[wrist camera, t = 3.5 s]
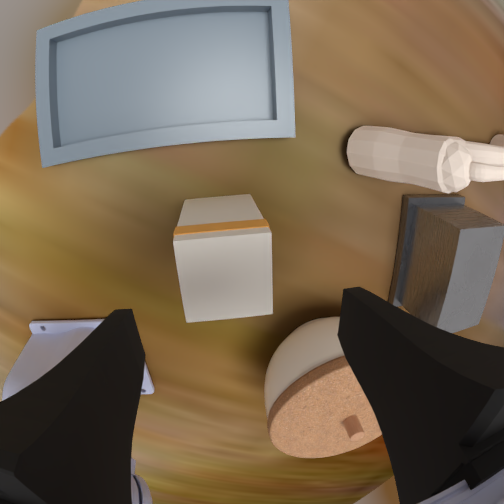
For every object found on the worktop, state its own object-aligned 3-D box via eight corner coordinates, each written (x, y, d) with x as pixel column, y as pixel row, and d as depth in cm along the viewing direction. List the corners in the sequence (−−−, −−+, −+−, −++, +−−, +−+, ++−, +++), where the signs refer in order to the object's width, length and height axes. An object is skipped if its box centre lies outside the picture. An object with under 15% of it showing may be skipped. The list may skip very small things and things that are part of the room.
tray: (52, 164, 17) (42, 167, 15) (47, 34, 13) (37, 30, 12) (288, 136, 18) (295, 137, 17) (282, 1, 14) (287, -7, 13)
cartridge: (191, 259, 20) (185, 323, 14) (183, 198, 19) (171, 240, 12) (253, 254, 21) (274, 314, 15) (250, 193, 19) (272, 231, 13)
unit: (387, 302, 24) (425, 346, 19) (403, 194, 21) (456, 221, 15) (440, 291, 25) (480, 327, 19) (458, 194, 21) (511, 218, 16)
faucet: (466, 165, 25) (550, 188, 17) (347, 184, 19) (492, 229, 11) (467, 126, 24) (553, 144, 16) (345, 120, 17) (500, 136, 9)
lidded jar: (381, 280, 23) (450, 355, 15) (367, 375, 28) (408, 448, 19) (245, 305, 22) (268, 408, 14) (259, 399, 27) (277, 487, 18)
